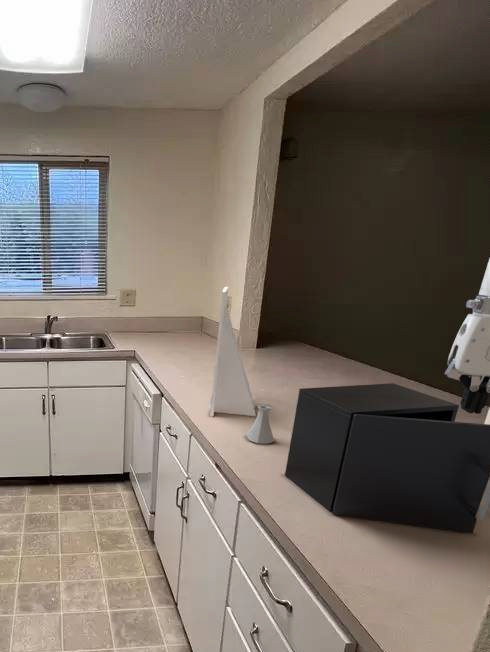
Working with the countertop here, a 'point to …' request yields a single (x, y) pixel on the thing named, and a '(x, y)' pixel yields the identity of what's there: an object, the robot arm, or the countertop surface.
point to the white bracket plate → (229, 371)
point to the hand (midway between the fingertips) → (470, 410)
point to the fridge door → (416, 472)
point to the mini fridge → (346, 428)
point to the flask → (261, 427)
